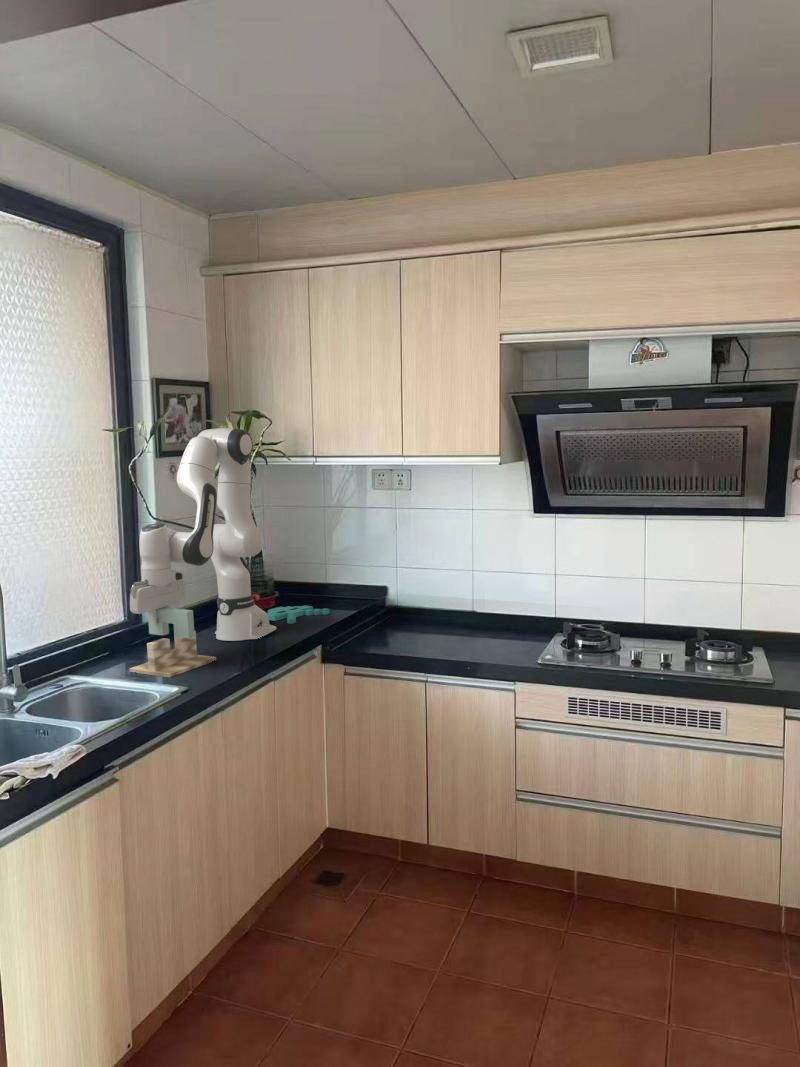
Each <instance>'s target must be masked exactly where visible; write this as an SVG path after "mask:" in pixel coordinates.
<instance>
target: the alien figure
mask: <svg viewBox="0 0 800 1067" xmlns="http://www.w3.org/2000/svg"><path fill="white" fill-rule="evenodd" d="M266 613H267V614H268V617H269V621H273V622H276V621H280V620H283V619H286V624H295V623H296V622H297V618H298V617H303V616H313V615H314V616H318V615H319V616H320V615H324V616H325V615H329V614H330V608H325V607H324V608H321V609H320V608H315V609H314V606H311V605H299V606H298V605H296V606H291V605H290V606H285V607H284V606H279V607H275V608H270V609H268V610H267V612H266Z"/></svg>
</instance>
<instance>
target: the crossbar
mask: <svg viewBox="0 0 800 1067" xmlns="http://www.w3.org/2000/svg"><path fill="white" fill-rule="evenodd" d="M155 615H156V617H157V618H159V623H157V624H152V623H151V618H150V616H149V615H148V614H147V620H148V635H156V636H166V635H169V634H170V627H169V624H173V638H174V637H181V638H192V637H195V634H194V631H195V622H194V621H195V619H194V610H193V609H184V608H183V609H180V608H173V607H171V608H164V607H163V608H159V609H156V613H155Z"/></svg>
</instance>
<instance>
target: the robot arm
mask: <svg viewBox="0 0 800 1067" xmlns="http://www.w3.org/2000/svg"><path fill="white" fill-rule="evenodd" d="M253 442H254V441H253V438H252V436H251V434H250V433H249V432H248V431H247V430H246V429H242V428H238V427H237V428H231V427H229V428H228V427H217V428H210V429H209V428H208V429H207V428H203V429H200V430H199V429H198V430H196V431H195V432H194V433H193V434H192V435H191V438H190V439H189V442H188V444H187V445H186V447H185V449H184V451H183V454H182V457H181V460H180V463H179V466H178V469H177V473H176V484H177V487H178V488H179V489H180V491H181V492H182V493H183V494H185V495H186V496H188V497H189V498H191V499H192V500H194V501H195V502H196V503H195V504H196V514H195V522H194V529H193V530H192V531H191V532H189V531H187V532H186V531H183V532H182V531H176V530H173V529H171V528H169V527H168V526H167V525H166V524H165V523H162V522H157V523H156V522H155V523H150V524H147V525H145V526H143V527H142V528H141V529H140V532H139V540H138V541H139V545H138V547H139V557H140V558H141V565H140V573H141V580H140V581H135V582H134V583H133V584H132V586H131V587H130V594H129V610H130V612H131V613H132V614H137V615H138V614H139V615H141V614H145V613H147V616H148V615H149V616H150V618H151V623H152V624H157V623H159V618H157V617H156V615H155V613H156V609H159V608H163V607H164V608H172V607H171V606H174V605H177V604H181V603H184V602H185V600H186V598H187V593H186V592H187V590H186V583H185V580H184V579H185V573H184V572H181V571H176V570H172V565H171V563H176V564H188V565H192V566H197V567H199V566H203V565H205V564H206V563H208V561H210V560H211V562H212V565H213V567H214V572H215V575H216V581H217V582H216V584H217V594H218V596H217V599H216V604H217V608H218V611H217V616H216V617H217V618H216V630H215V631H214V635H215V634H216V635H215V639H217V640H219V641H231V642H236V641H238V642H239V641H246V640H258V638H259V639H261V638H262V636H263V637H264V636H267V635H268V634H271V633H273V632H274V631H277V626H275V625H273V624H270V620H269V617H268V614H267V613H268V612H266V611H265V610H263V609H262V608H260V607H259V606H258V605H256V602H255V601H259V600H260V594H255V593H253V594H252V587H251V575H250V572H249V570H248V569H247V568H246V567H245V566H244V564H243V562H242V560H241V558H250V557H254V556H257V555H258V554H260V552H261V551H262V550H263V547H264V543H265V541H264V536H263V534H262V532H261V530H260V529H259V528H258V526H257V525H256V523H255V521H254V518H253V514H252V509H251V489H252V488H251V487H252V486H251V484H252V474H251V472H252V471H251V462H250V459H249V458H250V457H251V455H252V452H253V447H254V443H253ZM217 462H218V463H219V469H218V477H217V490H216V488H215V486H214V483H213V482H214V476H215V471H216V468H217ZM217 508H218V509H219V510H220V511H221V513H222V514H223V516H224V520H225V523H216V524H215V521H216V511H217V510H216V509H217ZM260 637H261V638H260Z"/></svg>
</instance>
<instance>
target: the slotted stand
mask: <svg viewBox="0 0 800 1067" xmlns="http://www.w3.org/2000/svg"><path fill="white" fill-rule="evenodd" d="M196 632H197V631H196V630H194V634H195V637H192V638H181V637H174V636H173V638H174V648H172V649H171V642H170V638H165V637H163V638H160V639H157V640H153V641H150V642H147V643H146V648H147V650H146V651H147V662H144V663H142V664H138V665H136V666H133V667H129V672H130V673H135V672H136V673H137V674H144V675H149V676H150V675H152V676H157V677H158V676H159V677H164V678H172V677H176V676H178V675H181V674H183V673H186V672H189V671H191V670H193V669H196V668H199V667H202V666H205V665H207V664H211V663H212V661H213V662H214V660H215V661H217V656H213V655H212V656H211V655H204V654H203V655H202V654H198V649H197V647H198V646H197V635H196V634H197V633H196Z"/></svg>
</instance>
